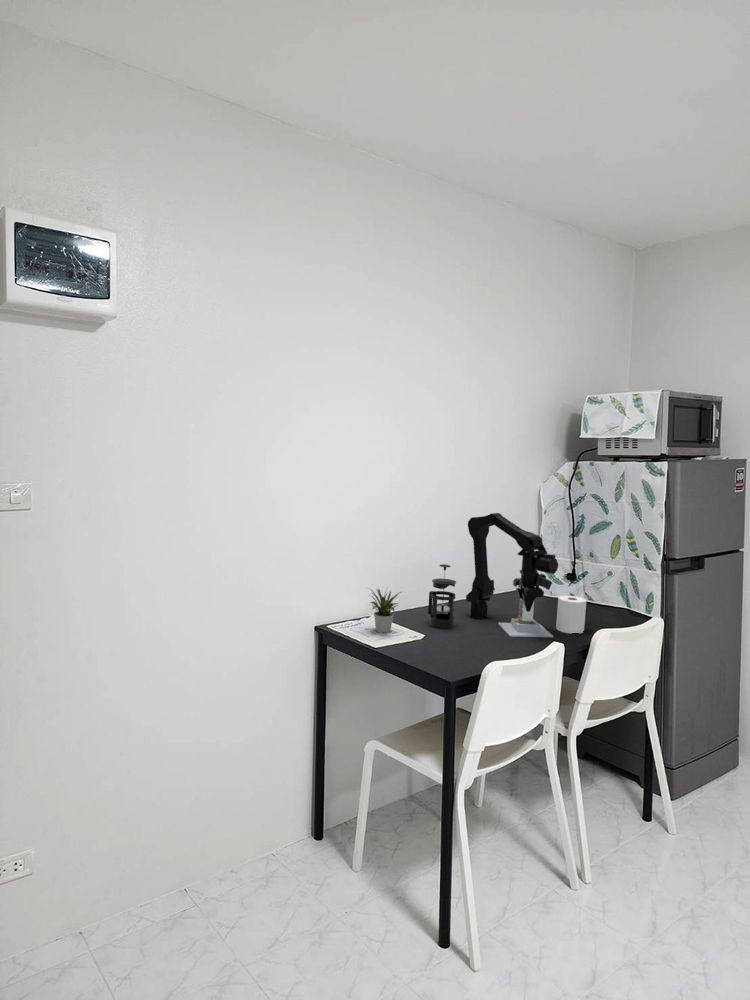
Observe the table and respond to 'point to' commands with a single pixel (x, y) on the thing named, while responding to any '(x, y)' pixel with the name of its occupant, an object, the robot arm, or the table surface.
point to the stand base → (524, 629)
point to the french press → (439, 618)
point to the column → (523, 613)
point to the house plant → (383, 611)
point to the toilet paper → (571, 614)
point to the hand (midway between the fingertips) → (526, 610)
